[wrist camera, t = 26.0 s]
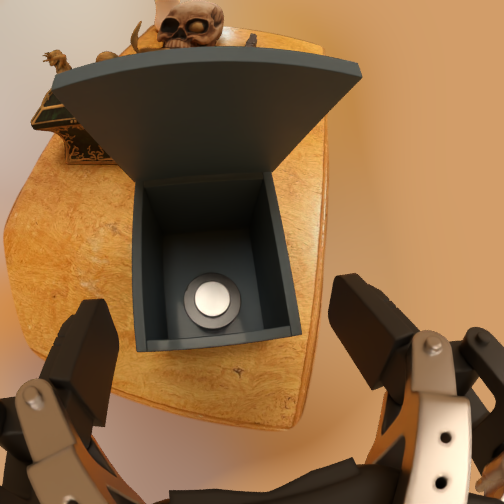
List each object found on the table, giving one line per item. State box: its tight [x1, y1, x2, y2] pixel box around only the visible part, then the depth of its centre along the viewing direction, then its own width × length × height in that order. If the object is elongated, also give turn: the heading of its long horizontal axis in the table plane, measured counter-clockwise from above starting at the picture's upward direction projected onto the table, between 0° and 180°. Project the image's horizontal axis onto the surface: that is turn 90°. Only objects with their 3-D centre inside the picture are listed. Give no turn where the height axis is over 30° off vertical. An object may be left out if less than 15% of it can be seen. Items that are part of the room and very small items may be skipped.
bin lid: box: [51, 46, 362, 182], centre depth 14 cm, size 14×12×1 cm
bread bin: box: [132, 172, 302, 352], centre depth 25 cm, size 14×12×11 cm
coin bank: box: [157, 0, 224, 49], centre depth 41 cm, size 16×17×13 cm
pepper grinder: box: [184, 272, 241, 334], centre depth 24 cm, size 5×5×8 cm
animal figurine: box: [245, 33, 257, 47], centre depth 45 cm, size 12×4×5 cm, turn 170°
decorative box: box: [31, 21, 168, 164], centre depth 25 cm, size 20×10×20 cm, turn 86°
